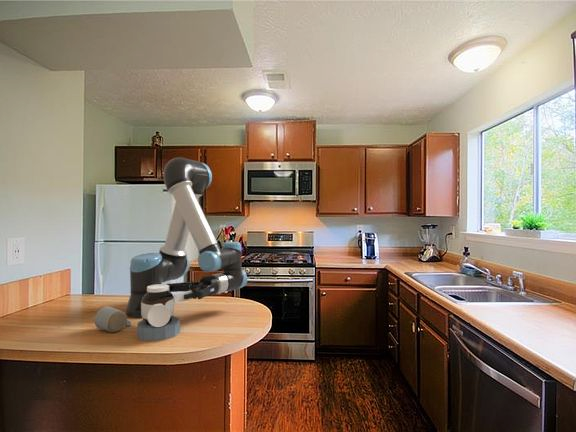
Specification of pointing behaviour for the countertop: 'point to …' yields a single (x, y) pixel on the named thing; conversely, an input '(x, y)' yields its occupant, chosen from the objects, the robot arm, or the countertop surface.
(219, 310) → the countertop surface
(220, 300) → the countertop surface
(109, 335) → the countertop surface
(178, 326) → the slate bowl
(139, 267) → the robot arm
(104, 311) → the ceramic mug
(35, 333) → the countertop surface
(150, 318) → the spread jar
